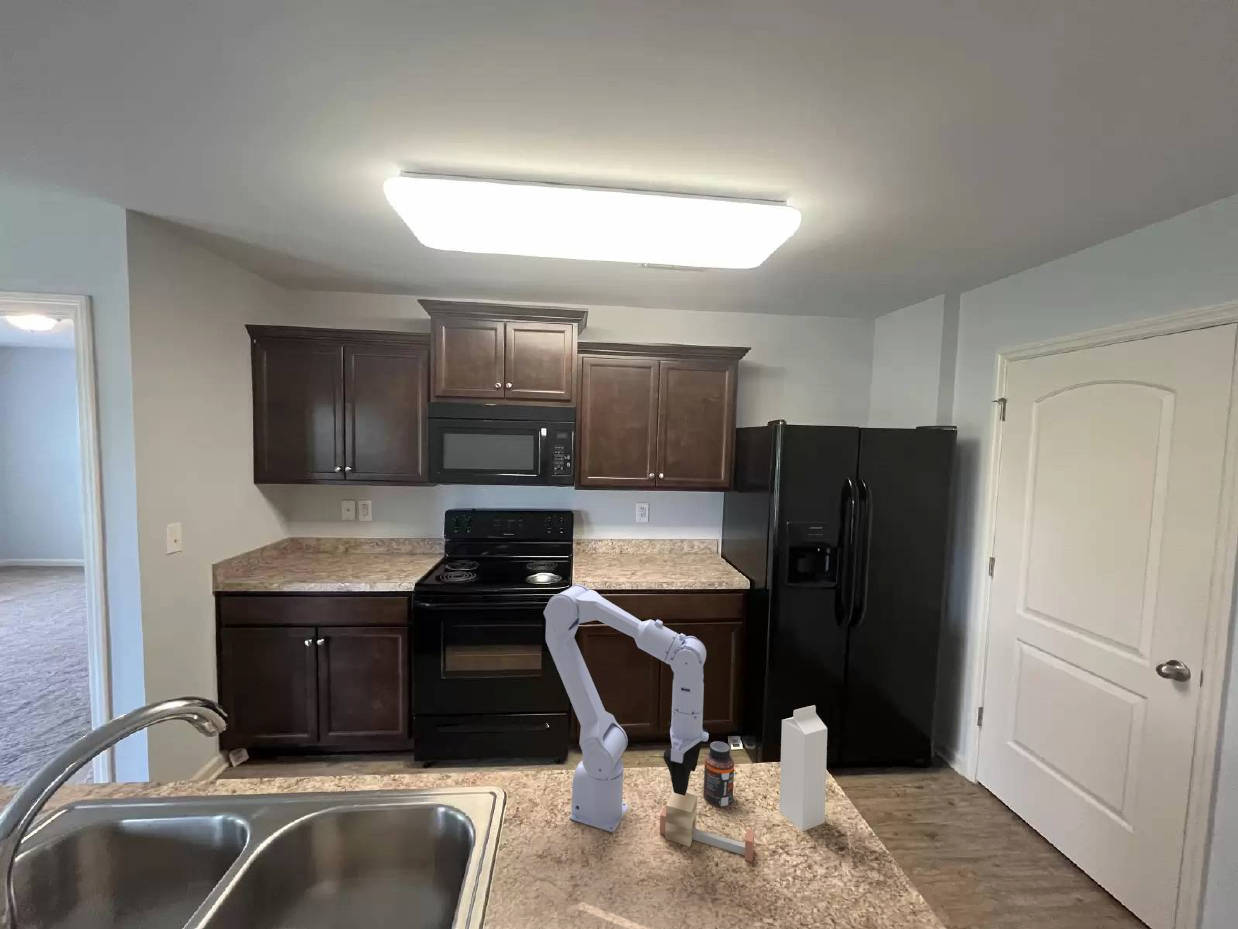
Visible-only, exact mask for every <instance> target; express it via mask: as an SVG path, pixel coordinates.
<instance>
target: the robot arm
mask: <svg viewBox="0 0 1238 929" xmlns="http://www.w3.org/2000/svg"><path fill="white" fill-rule="evenodd" d="M543 616H544V618H545V643H546V644H547V645H546V646H547V647H548V651H549V652H550V654H551V657H552V660H553V662H554V664H555V667H556V669H557V672H558V673H559V676H560V678H561V680H562V683H563V686H564V688H565V691H566V693H567V695H568V697H569V700H570V703H571V704H572V705H571V706H572V708H573V710H574V712H575V715H576V717H577V720H578V722H579V725H580V734H579V743H578V744H579V747H580V749H581V752H582V756H581V757H582V760H580V761H579V763H578V765H577V766H576V769H575V770H574V775H573V778H572V786H571V788H572V790H571V813H570V814H569V819H570V820H572V821H576V822H578V823H582V824H585V825H587V826H591V827H593V828H598V829H599V830H603V831H606V832H609V833H613V834H614V833H615V831H616V829H617V827H618V826H619V824H620V822H621V820H622V818H623V816H624V815H625V813H626V811H627V810H628V807H629V806H630V804H628V803H626V802H623V794H624V791H623V790H624V763H623V758H622V756H623V755H622V754H623V753H624V752H625V751H626V749H627V746H628V742H629V740H628V736H627V735H628V734H626V731H625V730H624V729H623V727H622V726H620V725H619V723H618V722H617V720H616V718H615V716H614V714H612V713H610V712H608V711H606V710H605V707H604V705H603V703H602V700H601V697H600V695H599V693H598V691H597V688H596V686H595V683H594V681H593V679H592V676H591V674H590V671H589V669H588V667H587V665H586V662H585V660H584V658H583V657H584V656H583V655H582V653H581V650H580V648H579V645H578V643H577V641H576V639H575V635H576V633H577V630H578V629H579V626H580V624H584V623H588V622H593V621H599V622H601V623H603V624H604V625H607V626H609V627H611V628H613V629H616V630H617V631H618V632H621V633H623V634H625V635H627V636H629V637H632V638H633V639H634V641H635V644H636V646H637V648H638V649H640V650H642V651H644V652H646V653H647V654H649V655H651V656H652V657H655V658H656V659H658V660H659V661H662V662H664V663H665V664H667V665H669V666H670V668H671V671H672V672H673V679H672V692H671V694H672V695H671V697H672V698H671V701H672V702H671V723H670V724H671V725H670V728H669V735H670V741H671V742H670V743H671V748H670V749H669V748H666V749H665V750H664V752H663V761H664V762H665V765H666V767H667V769H668V772H669V775H670V780H671V786H672V791H674V793H677V794H680V795H684V796H685V794H686V793H687V792H688V787H689V781H690V775H691V772H696V769H697V765H698V762H699V758H700V752H701V748H702V745H703V742H708V740H709V735H710V734H709V733H708V731H707V729H705V728H703V720H704V719H703V718H704V693H705V692H704V691H705V690H704V689H705V688H704V687H705V683H704V677H705V676H704V664H705V662H706V659H707V649H706V647H705V644H704V643H703V642H702V641H701V640H700V639H698V638H697V637H696V636H693V635H688V636H687V635H686V634H684V633H683V632H682V633H680V634H679V633H678V632H676V631H674V630H672V629H670V628H668V627H666V626H664V625H663V624H664V623H663V621H662V620H660V619H656V620H653V619H647V620H645V621H641V620H640V619H638V618H637V617H636V616H634V615H632V614H631V613H629V612H627V611H625V610H624V609H622V608H621V607H620V606H617V605H616V604H614V603H612V602H611V601H609V600H607V599H606V598H605V597H603V596H602V595H600V594H599V593H598V592H597V591H595V590H593V589H589V588H587V586H585V585H583V584H574V585H572V586H570V587H569V588H567V589H565V590H563V591H561V592H560V593H557V594H554V595H553V596H551V598H549V600H548V602H547V604H546V606H545V609H544V610H543Z"/></svg>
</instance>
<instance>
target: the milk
mask: <svg viewBox="0 0 1238 929" xmlns="http://www.w3.org/2000/svg"><path fill="white" fill-rule="evenodd" d="M816 709H817V707H816V705H815V704H814V705H810V706H805V707H801V708H798V709H797V708H796V709H794V710H793V716H792V717H789V718H785V719H781V738H780V739H781V740H780V741H781V742H780V744H781V745H780V771H779V772H780V773H779V774H780V775H779V777H780V778H779V801H778V802H779V806H778V807H779V810H778V812H779V813H780V814H781V815H783V817H785V818H786V819H787V820H788V821H789V822H790V823H791V824H793V825H794V827H796V828H798V830H800V832H805V831H808V830H810V829H813V828H815V827H818V826H819V825H820V826H821V825H823V824H825V823H826V822H825V821H826V793H827V792H826V791H827V790H826V787H827V783H826V782H827V757H828V756H827V755H828V753H827V752H828V751H827V747H828V727H827V725H825V723H824V722H823V721H822V719H821V718H820V717H819V715H818V714H817V712H816V711H817V710H816Z"/></svg>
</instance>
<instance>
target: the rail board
mask: <svg viewBox="0 0 1238 929" xmlns="http://www.w3.org/2000/svg"><path fill="white" fill-rule="evenodd" d="M665 824H666V804H664V805H663V807H662V811H661V813H660V816H659V834H660V835H663V836H665ZM693 840H694V841H697V842H700V843H703V844H706V845H710V846H713V847H716V848H720V849H722V850H726V851H729V852H732V853H736V854H739V855H742V856H744V860H745V861H747V862H750V863H752V862H753V858H754V852H755V849H754V847H755V829H750V828H746V835H745V840H744V842H741V841H737V840H735V839H731V838H727V837H724V836H721V835H718V834H714V833H712V832H708V831H705V830H701V829H698V828H696V829H695V828H692V841H693Z"/></svg>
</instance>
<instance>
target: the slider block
mask: <svg viewBox="0 0 1238 929" xmlns="http://www.w3.org/2000/svg"><path fill="white" fill-rule="evenodd" d="M665 805H666V824H665V835H664V839H665V840H668V841H671V842H674V843H677V844H681V845H683V846H686V847H691V846H692V845H691V844H692V842H693V839H692V828H695V829H697V810H698V809H697V807H698V795H696V794H691V793H689V792H686V794H685V796H684V795H680V794H677V793H674V791H673V790H672V791H671V793H670V796H669V798H668V800H667V803H666V804H665Z"/></svg>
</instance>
